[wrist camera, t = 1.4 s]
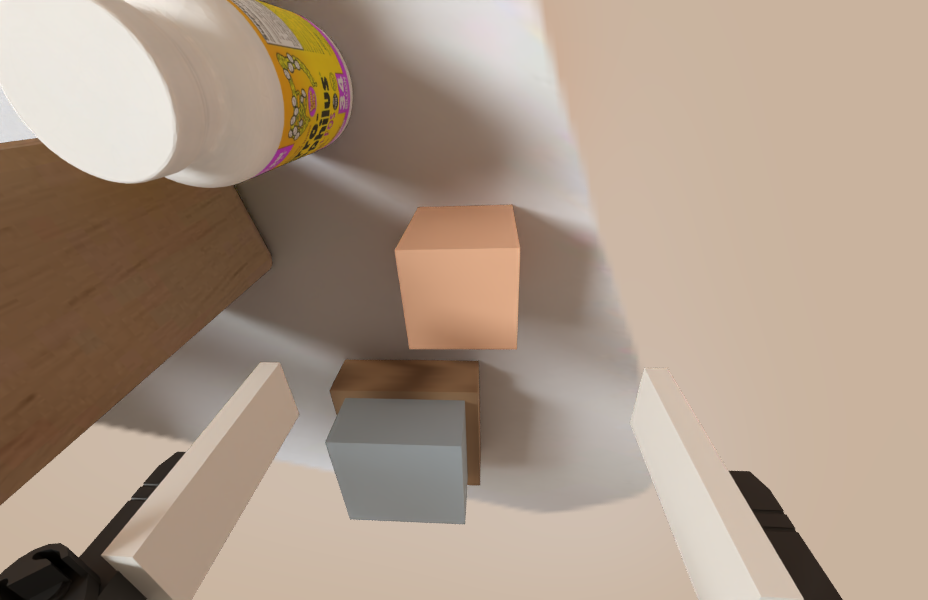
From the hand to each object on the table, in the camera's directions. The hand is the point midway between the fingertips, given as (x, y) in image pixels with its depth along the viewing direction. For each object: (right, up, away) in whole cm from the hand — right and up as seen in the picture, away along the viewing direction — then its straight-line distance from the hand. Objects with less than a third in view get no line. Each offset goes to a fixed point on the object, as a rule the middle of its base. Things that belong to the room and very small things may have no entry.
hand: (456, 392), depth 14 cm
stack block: (0, +7, +11) cm, 13 cm away
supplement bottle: (-9, +15, +7) cm, 19 cm away
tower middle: (-4, -8, +16) cm, 19 cm away
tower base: (-4, -6, +20) cm, 21 cm away
